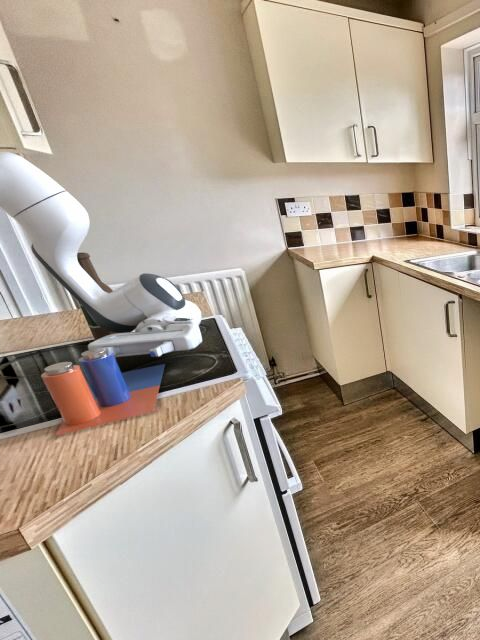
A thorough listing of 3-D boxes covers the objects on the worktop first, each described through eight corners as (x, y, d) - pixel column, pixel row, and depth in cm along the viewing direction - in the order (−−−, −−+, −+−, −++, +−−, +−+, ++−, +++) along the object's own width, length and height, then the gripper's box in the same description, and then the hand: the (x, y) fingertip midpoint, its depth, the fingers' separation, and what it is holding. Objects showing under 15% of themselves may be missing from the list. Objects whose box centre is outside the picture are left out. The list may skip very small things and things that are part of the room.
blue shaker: (96, 409, 83) (73, 359, 79) (101, 398, 87) (79, 350, 82) (129, 402, 85) (108, 352, 81) (132, 391, 89) (113, 344, 85)
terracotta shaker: (61, 428, 77) (34, 374, 73) (68, 415, 81) (43, 364, 77) (97, 419, 79) (73, 367, 75) (103, 408, 83) (80, 357, 79)
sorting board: (55, 438, 75) (54, 435, 75) (88, 381, 95) (87, 379, 95) (154, 413, 82) (153, 411, 82) (165, 365, 102) (164, 363, 102)
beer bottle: (96, 337, 120) (59, 253, 111) (131, 330, 125) (99, 249, 115) (94, 345, 115) (56, 257, 105) (131, 338, 119) (97, 253, 110)
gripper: (105, 326, 100) (64, 348, 88) (202, 317, 105) (176, 337, 93) (115, 350, 103) (77, 375, 90) (209, 341, 107) (185, 363, 95)
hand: (128, 356), depth 92 cm, fingers open, 8 cm apart
